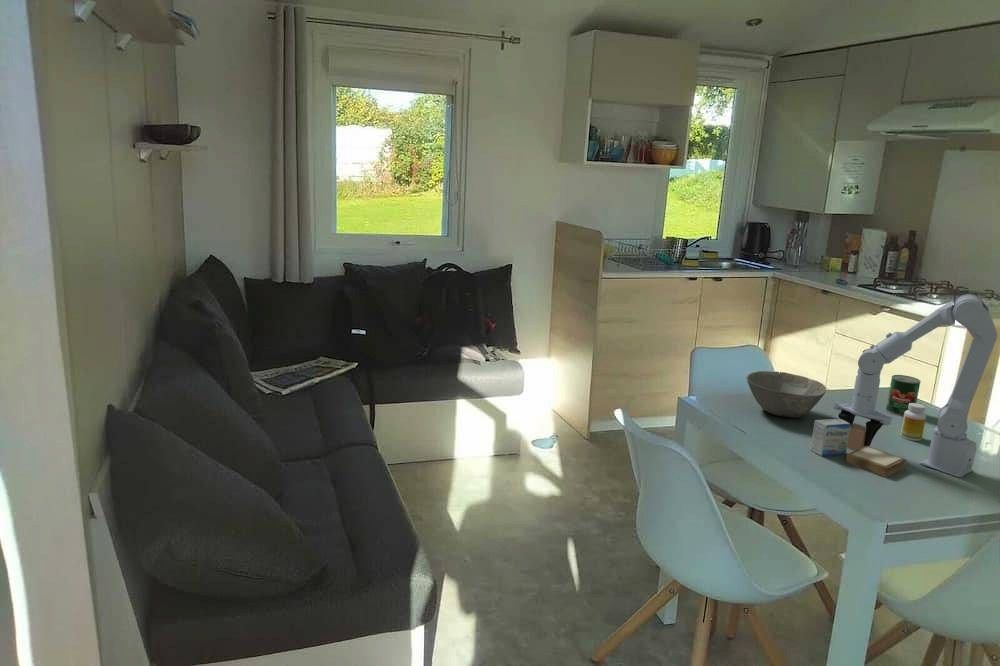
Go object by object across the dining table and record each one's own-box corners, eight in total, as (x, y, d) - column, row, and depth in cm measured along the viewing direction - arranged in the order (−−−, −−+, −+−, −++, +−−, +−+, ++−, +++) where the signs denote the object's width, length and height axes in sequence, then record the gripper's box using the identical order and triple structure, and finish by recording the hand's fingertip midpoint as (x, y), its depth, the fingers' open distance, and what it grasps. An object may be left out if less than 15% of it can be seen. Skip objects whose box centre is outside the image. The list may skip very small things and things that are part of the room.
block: (869, 448, 192) (873, 429, 190) (860, 451, 189) (863, 432, 187) (851, 441, 196) (854, 423, 194) (842, 445, 193) (845, 426, 191)
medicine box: (820, 456, 184) (826, 425, 182) (809, 449, 189) (814, 419, 187) (846, 454, 187) (851, 423, 184) (834, 448, 191) (839, 417, 189)
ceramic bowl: (798, 433, 200) (803, 399, 198) (727, 408, 217) (731, 377, 215) (836, 417, 214) (841, 386, 212) (766, 396, 231) (771, 367, 229)
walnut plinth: (904, 468, 180) (906, 458, 179) (885, 477, 174) (887, 467, 173) (865, 454, 187) (866, 445, 187) (845, 462, 181) (847, 453, 181)
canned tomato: (907, 408, 225) (913, 375, 222) (918, 417, 218) (925, 383, 215) (881, 406, 226) (887, 373, 223) (891, 415, 218) (898, 381, 216)
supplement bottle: (924, 442, 198) (931, 409, 195) (903, 440, 199) (909, 407, 196) (917, 435, 203) (924, 403, 200) (897, 433, 204) (903, 401, 201)
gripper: (900, 399, 185) (891, 448, 189) (846, 384, 196) (838, 430, 200) (887, 404, 181) (878, 453, 184) (833, 388, 192) (825, 435, 196)
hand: (856, 441), depth 192 cm, fingers closed on block, 5 cm apart
